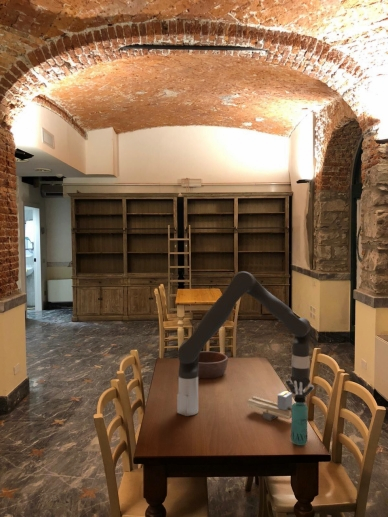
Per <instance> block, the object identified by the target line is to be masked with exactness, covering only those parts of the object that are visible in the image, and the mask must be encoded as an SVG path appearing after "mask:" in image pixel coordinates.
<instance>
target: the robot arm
mask: <svg viewBox="0 0 388 517" xmlns="http://www.w3.org/2000/svg"><path fill="white" fill-rule="evenodd" d="M245 294H247V295H249V296H250V297H252V298H253V299H255V300H256V301H258V302H259V303H260V304H261V305H262V306H263V308H265V309H266V310H267V311H268V312H269V313H270V314H271V315H273V317H275V318H276V319H277V320H279V322H282V324H283V325H284V326H285V328H286V329H287V330H288V331H289V332H290V333H291V334H292V335H294V339H293V342H292V348H291V350H292V352H291V353H292V354H291V369H290V370H291V373H290V374H291V376H290V379H288V380H285V384H286V385H287V387H288V388H289V390H290V393H292V395H293V394H294V396H295V395H297V394H301V395H304V396H305V397H307V396H308V395H309V394H311V392H313V390H314V389H315V388H316V386H315V385H313V384H312V383H311V380H310V366H311V364H310V362H311V361H310V340H311V334H312V325H311V323H310V321H309V320H308V318H305V317H300V318H299V317H297V315H295V314H294V311H293V310H292V309H291V307H289V306H288V305H287V304H286V303H284V302H283V301H281V300H280V298H278V297H277V296H275V295H273V294H272V293H271V292H269V291H268V290H267V289H266V288H265V287H264V286H263V285H262V284H261V283H260V282H259V281H258V280H257V279H256V277H255V276H254V275H253V274H251V272H248V271H239V272H237V273H236V274H235V275H234V276H233V278H232V279H231V281H230V282H229V285H228V286H227V287H226V289H225V291H224V292H223V293H222V294H221V296H219V298H218V299H216V301H215V302H214V303H213V304H212V305H211V307H210V308H209V309H208V311H207V312H206V313H205V314H204V315H203V317H202V319H201V320H200V322H199V324H198V325H197V327H196V329H195V331H194V332H193V333H192V334H191V336H190V337H189V338H188V339H186V340H184V341H183V342H181V344H180V345H179V347H178V350H177V358H178V361H179V365H178V392H177V393H176V395H177V397H176V398H177V399H176V401H177V402H176V403H177V405H176V406H177V409H176V410H177V411H176V412H177V414H179V415H182V416H184V417H189V416H194V415H196V414H198V413H199V378H198V370H199V353H200V352H201V351H202V349H203V348H204V347H205V345H206V344H207V343H208V342H209V341H210V340H211V339H212V338H213V337H214V336H215V334H216V333H217V332H218V331H219V330H220V329H221V328H222V327H223V326H224V324H225V323H226V322H227V321H228V319H229V317H230V316H231V313H232V311H233V310H234V307H235V306H236V304H237V302H238V301H239V300H240V299H241V298H242V297H243V296H244V295H245ZM306 388H307V390H306Z"/></svg>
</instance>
